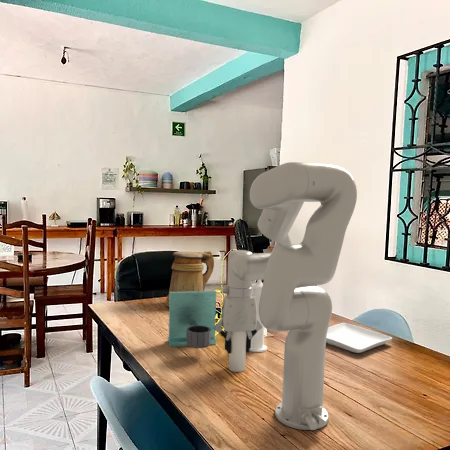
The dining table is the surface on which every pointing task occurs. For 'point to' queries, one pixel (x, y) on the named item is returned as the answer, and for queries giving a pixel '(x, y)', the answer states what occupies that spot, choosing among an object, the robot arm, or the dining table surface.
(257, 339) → the candle
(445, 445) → the dining table surface
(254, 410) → the dining table surface
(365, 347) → the salad plate
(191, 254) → the tankard
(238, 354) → the white cylinder
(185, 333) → the cup bracket
